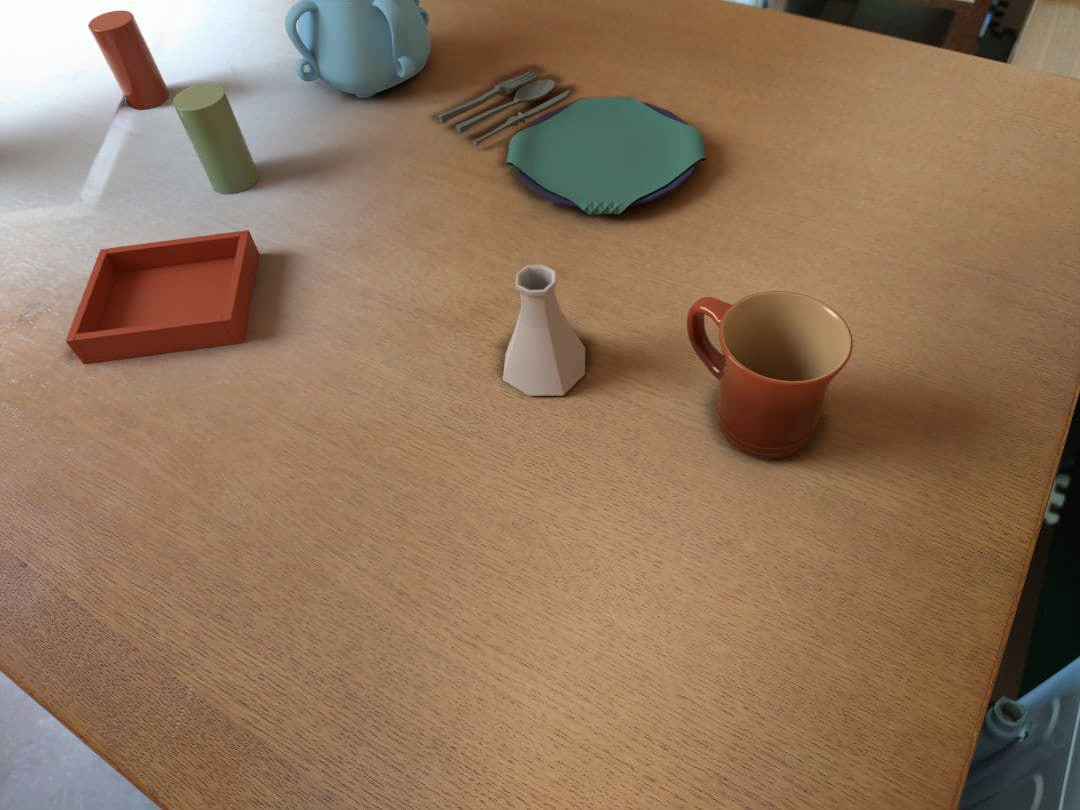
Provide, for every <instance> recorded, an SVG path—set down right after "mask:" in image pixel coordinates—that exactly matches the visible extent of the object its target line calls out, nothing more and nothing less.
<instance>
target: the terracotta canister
mask: <svg viewBox="0 0 1080 810" xmlns="http://www.w3.org/2000/svg"><path fill="white" fill-rule="evenodd" d="M87 26H88V29H89V31H90V33H91V35H92V37H93V39H94V40H95V43H96V44H97V47H98V48H99V51H100V52H101V54H102V56H103V59H104V60H105V62H106V63H107V66H108V67H109V69H110V71H111V74H112V75H113V77H114V79H115V81H116V82H117V85H118V87H119V89H120V90H121V92H122V94H123V96H124V98H125V100H126V102H127V105H128V106H129V107H130V108H131V109H135V110H147V109H153V108H155V107H158V106H160V105H162V104H164V103H165V102H166V101H167V100H168V99H169V97H170V90H169V88H168V86H167V84H166V82H165V80H164V77H163V76H162V73H161V72H160V69H159V67H158V65H157V63H156V61H155V59H154V57H153V54H152V53H151V51H150V48H149V46H148V44H147V42H146V39H145V37H144V35H143V34H142V31H141V29H140V27H139V25H138V22H137V20H136V19H135V16H134V14H133V13H132V12H131V11H129V10H112V11H108V12H105V13H101V14H99V15H96V16H95V17H94V18H92V19H91V20H90V21H89V22H88V25H87Z"/></svg>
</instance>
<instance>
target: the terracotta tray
mask: <svg viewBox="0 0 1080 810" xmlns="http://www.w3.org/2000/svg"><path fill="white" fill-rule="evenodd" d="M259 257H260V252H259V250H258V247H257V245H256V243H255V241H254V238H253V236H252V234H251V232H250V230H249V229H246V230H237V231H230V232H223V233H215V234H208V235H199V236H192V237H185V238H177V239H170V240H168V239H167V240H161V241H154V242H146V243H137V244H130V245H123V246H115V247H108V248H101V249H99V251H98V255H97V258H96V260H95V263H94V265H93V268H92V271H91V273H90V276H89V279H88V281H87V284H86V286H85V289H84V290H83V291H84V292H83V294H82V297H81V300H80V301H79V304H78V307H77V310H76V312H75V315H74V318H73V320H72V324H71V325H70V328H69V331H68V333H67V336H66V338H65V343H66V345H68V347H69V348H70V349H71V350H72V351H73V353H74V354H75V355H76V357H77V358H78V359H79V360H80V362H81V363H82V365H84V364H93V363H100V362H107V361H113V360H124V359H130V358H136V357H137V358H138V357H145V356H153V355H154V356H155V355H160V354H167V353H176V352H183V351H192V350H197V349H205V348H213V347H221V346H228V345H237V344H244V343H245V336H246V330H247V325H248V319H249V314H250V310H251V309H250V308H251V303H252V298H253V297H252V296H253V292H254V287H255V280H256V276H257V270H258V265H259Z"/></svg>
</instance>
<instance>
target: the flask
mask: <svg viewBox="0 0 1080 810" xmlns="http://www.w3.org/2000/svg"><path fill="white" fill-rule="evenodd" d="M557 275H558V272H557V270H555V269H554V268H551V267H549V266H548V265H545V264H527V265H526V266H524V267H523V268H521V270H519V271H518V272H517V273H516V275H515V285H514V287H515V290H516V291H518V292H519V295H520V312H519V314H518V317H517V320H516V324H515V327H514V330H513V333H512V336H511V338H510V340H509V343H508V346H507V348H506V352H505V356H504V365H503V373H502V374H503V375H502V381H504V382H505V383H507V384H508V385H511V386H512V387H514V388H515V389H517V390H518V391H520V392H522V393H524V394H525V395H526V396H529V397H530V396H532V397H533V396H564V395H566V394H567V393H568V392H569V391H570V390H571V389H572V388H573V387H574V386H575V385H576V383H578V382H579V381H580V380H581V379H582V377H584V376H585V375H586V348H585V345H584V344H583V342H582V341H581V339H580V337H579V336H578V335H577V333H576V332H575V331H574V328H572V326H571V324H570V323H569V321H568V319H567V317H566V316H565V314H564V312H563V311H562V309H561V308H560V307H561V306H560V305H559V301H558V299H557V295H556V291H555V289H556V287H557V277H558V276H557Z"/></svg>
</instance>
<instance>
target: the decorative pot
mask: <svg viewBox="0 0 1080 810" xmlns="http://www.w3.org/2000/svg"><path fill="white" fill-rule="evenodd" d="M429 22H430V16H429V13H428V11H427V10H426V9H425V8H424V7H422V6H420V0H299V1H298V2H296V3H294V4H293V5H292V6H291V7H290V8H289V10H288V11H287V13H286V15H285V18H284V27H285V31H286V33H287V36H288V38H289V40H290V42H291V43H292V44H293V46H294V47H295V49H296V50H297V51H298V52H299V54H300V55H301V56H302V58H300V59H298V60H297V62H296V65H295V73H296V75H297V77H298V78H299V79H300V80H301V81H303V82H314V81H316V80H318V79H319V80H321V81H322V82H323V83H324V84H326V85H327V86H329V87H331V88H333V89H335V90H338V91H340V92H344V93H346V94H347V93H348V94H351V95H352V94H353V95H355V96H356V97H357V98H360V99H368V98H371V97H373V96H375V95H376V93H379V92H382V91H385V90H388V89H390V88H393V87H395V86H397V85H398V84H399V85H400V84H402V83H404V82H406V81H408V80H409V79H411V78H412V77H414V76H416V75H417V74H419V73H420V72H421V71H422V70H424V69H423V68H424V67H425V65H426V63H427V61H428V58H429V56H430V53H431V48H432V45H431V44H432V43H431V38H430V34H429V31H428V28H427V27H428V25H429ZM305 66H307V67H308V70H307V71H304V67H305Z"/></svg>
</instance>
